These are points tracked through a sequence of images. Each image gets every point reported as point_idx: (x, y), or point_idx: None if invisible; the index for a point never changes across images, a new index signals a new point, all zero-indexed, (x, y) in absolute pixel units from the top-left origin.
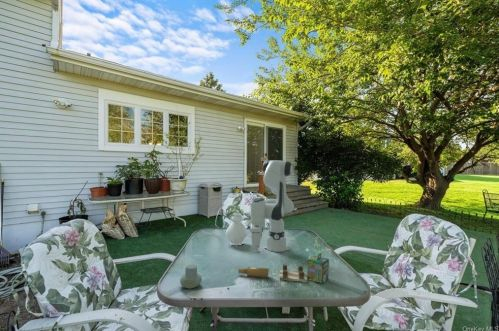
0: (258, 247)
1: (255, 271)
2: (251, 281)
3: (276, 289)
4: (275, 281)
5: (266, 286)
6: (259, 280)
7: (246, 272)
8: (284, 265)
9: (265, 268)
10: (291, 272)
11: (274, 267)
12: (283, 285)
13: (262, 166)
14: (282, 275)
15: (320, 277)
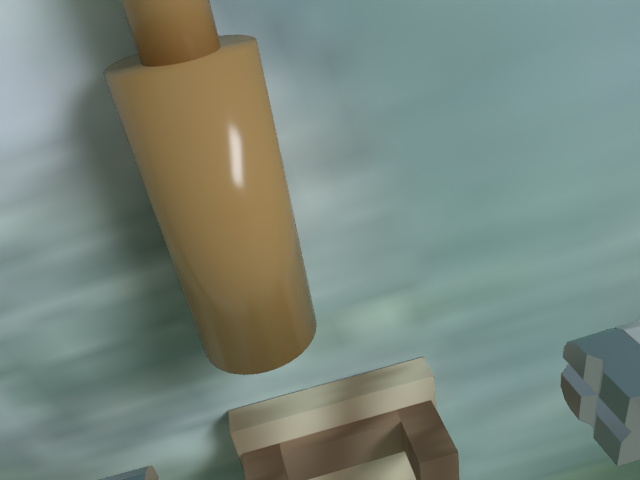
0: (569, 387)
1: (158, 216)
2: (20, 170)
3: (6, 451)
4: (183, 390)
5: (5, 362)
6: (113, 249)
7: (137, 50)
8: (428, 472)
9: (254, 342)
10: (399, 468)
11: (547, 272)
12: (133, 466)
13: None
14: (296, 435)
15: None
